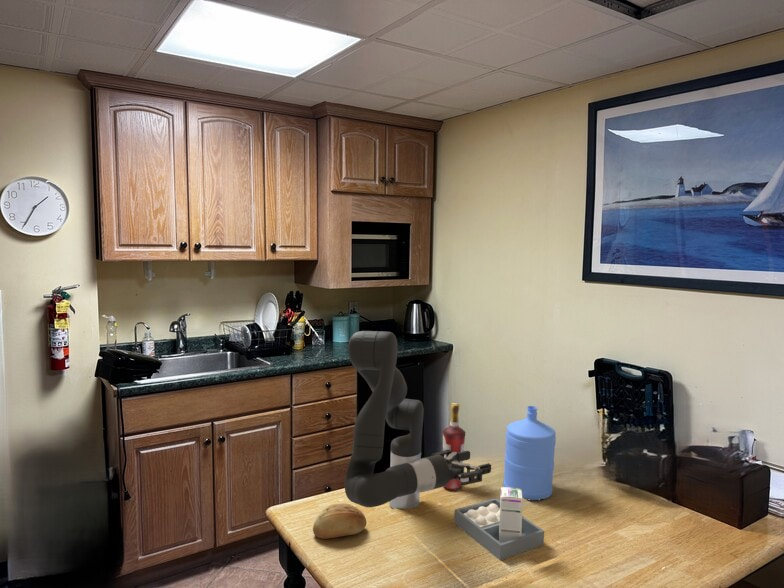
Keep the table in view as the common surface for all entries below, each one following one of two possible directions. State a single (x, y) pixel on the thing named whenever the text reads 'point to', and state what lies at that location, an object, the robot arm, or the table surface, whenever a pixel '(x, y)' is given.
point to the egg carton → (485, 515)
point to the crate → (490, 535)
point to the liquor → (454, 441)
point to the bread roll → (339, 521)
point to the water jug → (530, 456)
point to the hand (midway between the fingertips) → (479, 460)
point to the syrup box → (510, 514)
